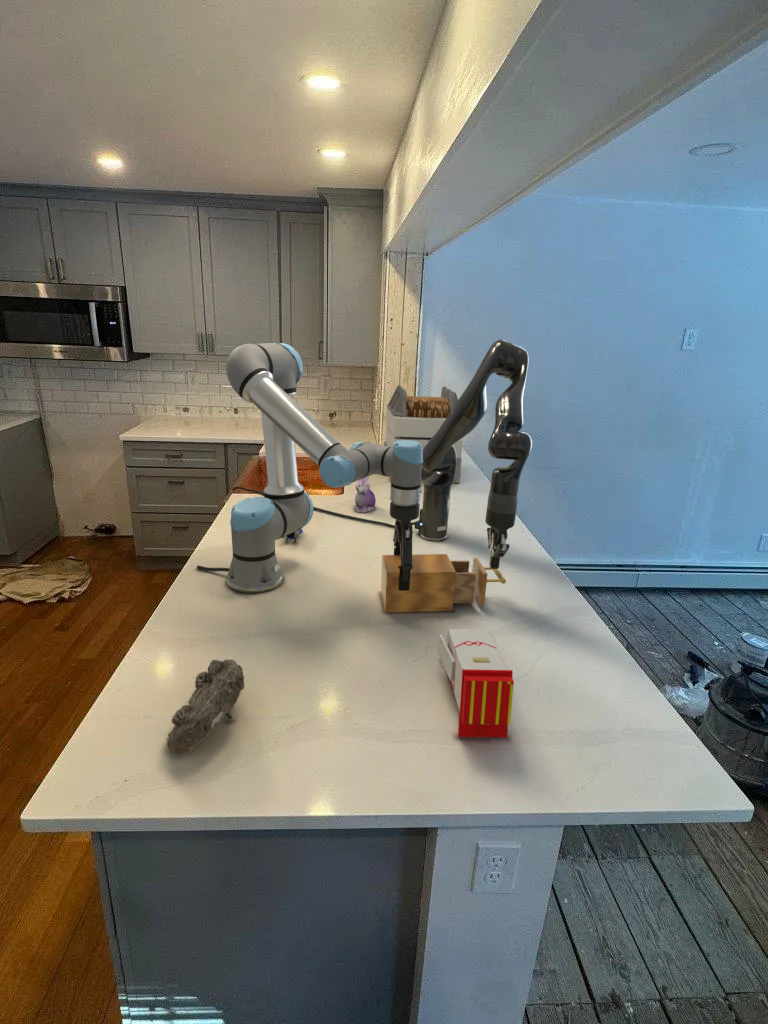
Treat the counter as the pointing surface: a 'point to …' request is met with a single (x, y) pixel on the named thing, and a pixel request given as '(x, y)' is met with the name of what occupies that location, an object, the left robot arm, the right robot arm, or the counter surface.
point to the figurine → (364, 496)
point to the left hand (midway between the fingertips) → (400, 579)
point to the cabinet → (419, 584)
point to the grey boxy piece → (420, 419)
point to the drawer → (472, 581)
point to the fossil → (206, 705)
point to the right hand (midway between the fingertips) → (493, 567)
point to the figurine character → (293, 535)
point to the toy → (478, 682)
